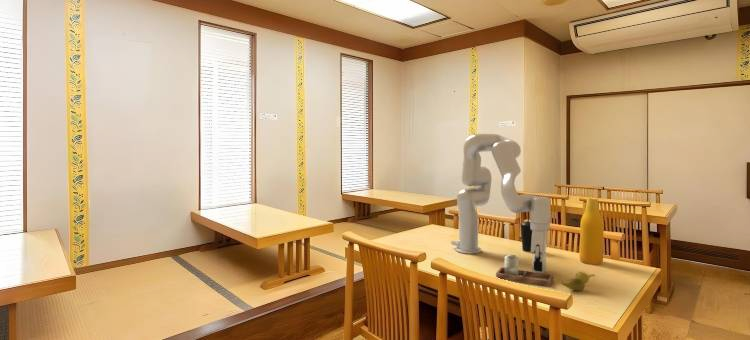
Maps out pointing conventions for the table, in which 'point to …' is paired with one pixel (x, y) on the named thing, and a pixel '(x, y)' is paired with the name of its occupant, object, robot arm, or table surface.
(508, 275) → the walnut tray
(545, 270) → the celadon canister
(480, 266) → the table surface
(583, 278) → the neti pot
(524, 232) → the drinking cup
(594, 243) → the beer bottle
